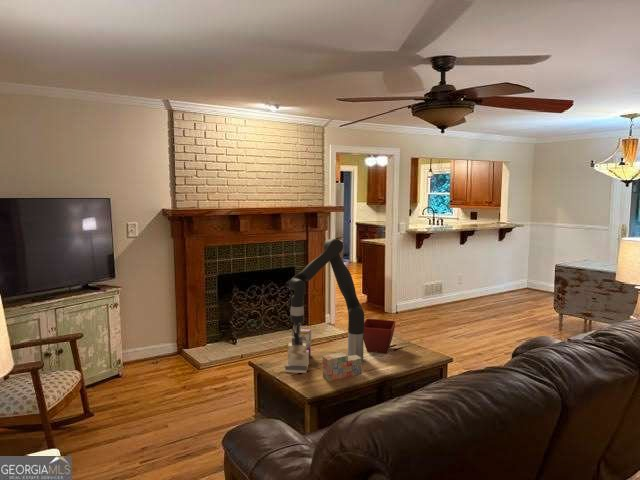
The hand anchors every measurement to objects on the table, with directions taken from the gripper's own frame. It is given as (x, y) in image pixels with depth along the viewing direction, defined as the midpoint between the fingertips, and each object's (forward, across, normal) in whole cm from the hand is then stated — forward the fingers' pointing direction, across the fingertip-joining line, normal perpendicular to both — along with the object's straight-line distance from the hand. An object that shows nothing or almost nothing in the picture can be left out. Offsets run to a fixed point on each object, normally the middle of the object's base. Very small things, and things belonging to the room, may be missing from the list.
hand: (297, 343), depth 264 cm
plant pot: (+15, +36, -47) cm, 61 cm away
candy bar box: (+15, +18, 0) cm, 24 cm away
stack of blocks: (+15, -8, -26) cm, 31 cm away
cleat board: (+15, -1, 0) cm, 15 cm away
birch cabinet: (+9, 0, 0) cm, 9 cm away
